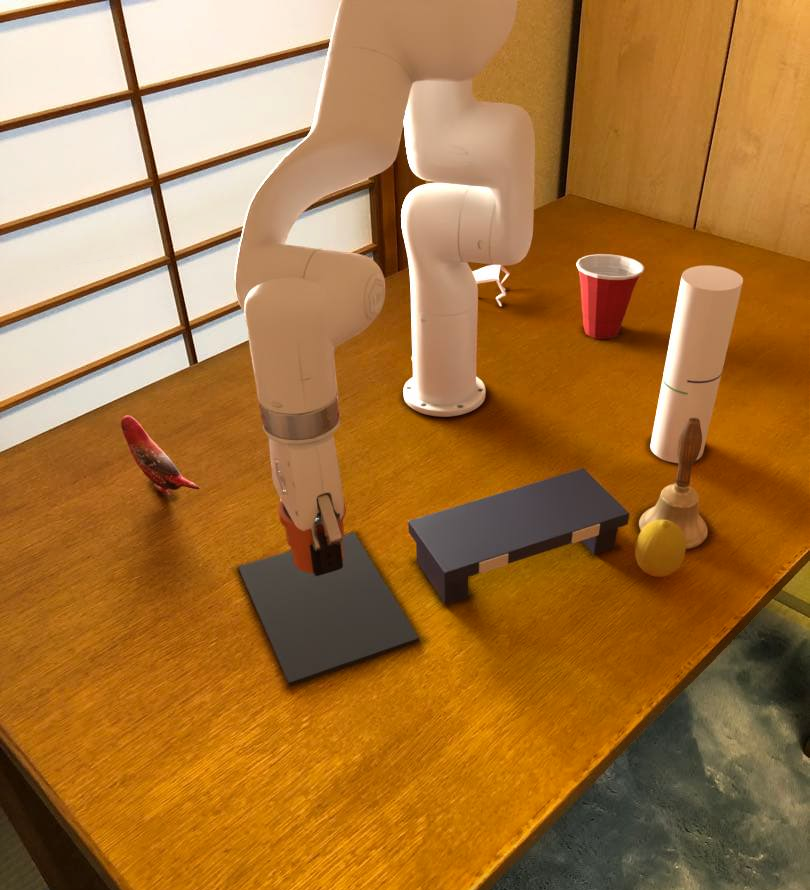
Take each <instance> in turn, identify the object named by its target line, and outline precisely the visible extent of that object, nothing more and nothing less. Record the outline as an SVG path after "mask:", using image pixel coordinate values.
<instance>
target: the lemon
mask: <svg viewBox="0 0 810 890" xmlns="http://www.w3.org/2000/svg"><path fill="white" fill-rule="evenodd" d="M686 550H687V549H686V542H685V537H684V533H683V532H682V530H681V528H680V527H679V526H678V525H676V524H675V523H673V522H671V521H669V520H655V521H652V522H650V523H648V524H647V525H646V526H645V527H644V528H643V529H642V531H640V532H639V534H638V537H637V539H636V540H635V547H634V556H635V560H636V563H637V565H638V566H639V568H640V570H642V571H643V572H644V573H645V574H647V575H649V576H652V577H656V578H657V577H659V578H661V577H662V578H663V577H667V576H669V575H671V574H673V573H675V572H676V571H677V570H678V569H679V568H680V566H681V565H682V564H683V561H684V559H685V555H686Z"/></svg>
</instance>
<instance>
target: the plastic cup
mask: <svg viewBox="0 0 810 890" xmlns="http://www.w3.org/2000/svg"><path fill="white" fill-rule="evenodd" d="M575 264H576V267H577V269H578V275H579V283H580V299H581V312H582V322H583V328H584V330H583V331H584V332H585V334H586V335H587V336H589V337H591V338H593V339H597V340H598V339H599V340H609V339H612V338H615V337H616V336H618V334H619V332H620V330H621V327H622V324H623V321H624V318H625V316H626V313H627V310H628V307H629V304H630V301H631V297H632V295H633V292H634V289H635V287H636V284H637V282H638V280H639V278H640V276H641V275H642V274H643V272H644V270H645V266H644V265H643V263H642V262H640V261H638V260H636V259H634V258H631V257H628V256H624V255H617V254H609V253H608V254H607V253H598V254H597V253H596V254H590V255H584V256H582V257H581V258H578V260H577V261H576V263H575Z"/></svg>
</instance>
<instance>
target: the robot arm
mask: <svg viewBox="0 0 810 890" xmlns="http://www.w3.org/2000/svg"><path fill="white" fill-rule="evenodd" d="M517 10H518V0H340V1H339V4H338V7H337V11H336V14H335V19H334V23H333V28H332V32H331V37H330V42H329V46H328V51H327V56H326V60H325V65H324V69H323V74H322V79H321V83H320V87H319V93H318V98H317V102H316V106H315V112H314V117H313V122H312V126H311V129H310V131H309V132H308V134H307V136H306V137H305V138H303V139H302V140H301V141H300V142H299V143H298V144H297V145H296V146H295V147H293V148H292V149H291V150H289V152H287V153H286V154H285V155H284V156H283V157H282V158H281V160H279V162H278V163H277V164H276V165H275V166H274V167H273V169H272V170H271V171H270V172H269V174H268V175H267V176H266V177H265V179H263V181H262V183H260V185H259V187H258V188H257V190H256V191H255V193H254V194H253V197H252V199H251V201H250V203H249V205H248V207H247V208H248V209H247V211H246V214H245V217H244V222H243V226H242V227H243V228H242V232H241V236H240V241H239V245H238V251H237V256H236V261H235V270H234V291H235V292H234V293H235V295H236V299H237V300H236V301H237V303H238V305H239V308H241V310H242V311H243V312H244V318H245V319H244V320H245V324H246V332H247V337H248V338H247V339H248V343H249V349H250V350H249V351H250V356H251V363H252V369H253V375H254V382H255V388H256V395H257V400H258V406H259V414H260V419H261V426H262V430H263V431H262V432H263V433H264V434H265V435H266V437H267V438H268V447H269V458H270V465H271V475H272V482H273V485H274V488H275V490H276V493H277V494H278V497H279V499H280V501H281V500H282V502H283V504H284V506H285V508H286V510H287V511H288V513H289V515H290V517H291V519H292V520H293V522H294V524H295V525H296V527H297V528H299V529H300V530H302V531H306V530H308V529H310V535H311V539H312V545H310V552H311V560H312V568H313V573H314V574H315V576H320V575H323V574H326V573H329V572H333V571H336V570H339V569H341V568H342V567H343V561H342V551H341V541H342V536H341V532H340V529H339V526H338V523H337V520H339V521H340V520H341V519H342V517H343V513H344V507H343V498H344V494H343V487H342V480H341V479H342V478H341V472H340V465H339V459H338V451H337V447H336V441H335V435H334V433H335V432H336V431H337V430H338V428H339V427H340V424H341V416H340V404H339V403H340V402H339V393H338V392H339V391H338V382H337V371H336V370H337V369H336V358H335V349H336V348H338V346H340V345H341V344H344V343H345V342H347V341H349V340H350V339H352V338H355V337H356V336H357V335H359V334H361V333H362V332H364V331H365V330H366V329H367V328H368V327H369V326H370V325H371V324H372V323H373V322H374V321H375V320H376V318H377V317H378V316H379V314H380V313H381V312H382V310H383V306H384V303H385V297H386V281H385V280H386V279H385V276H384V273H383V270H382V268H380V266H379V265H378V263H377V262H376V261H375V260H373V259H372V258H370V257H369V256H366V255H364V254H360V253H356V252H351V251H350V252H349V251H340V250H332V249H324V248H319V247H311V246H302V245H301V246H300V245H291V244H286V242H287V239H288V236H289V233H290V231H291V230H292V227H293V225H294V224H295V223H296V221H297V220H298V218H299V217H300V216H301V215H302V214H303V213H304V212H305V211H306V210H307V209H308V208H309V207H310V206H312V205H313V204H315V203H316V202H317V201H319V200H321V199H322V198H324V197H326V196H329V195H331V194H333V193H336V192H338V191H340V190H343V189H345V188H347V187H350V186H352V185H354V184H357V183H359V182H362V181H364V180H367V179H370V178H372V177H374V176H376V175H379V174H381V173H383V172H384V171H386V170H387V169H388V168H390V167H392V165H393V164H394V162H395V161H396V159H397V156H398V154H399V149H400V142H401V138H402V133H403V131H404V141H405V148H406V150H405V151H406V155H407V161H408V164H409V168H410V170H411V172H412V173H413V174H414V175H415V177H417V178H419V179H421V180H424V181H426V182H427V181H428V182H432V183H425V184H421V185H419V186H416V187H415V188H413V189H412V190H411V191H409V193H408V194H407V195H406V197H405V199H404V201H403V204H402V208H401V214H400V217H401V221H400V222H401V230H402V237H403V240H404V245H405V250H406V256H407V262H408V269H409V282H410V283H409V284H410V315H411V316H410V317H411V349H412V350H411V351H412V355H411V361H412V377H410V378H409V379H408V380H407V381H406V382H405V384H404V386H403V391H402V392H403V399H404V402H405V404H406V405H407V406H408V407H409V408H411V409H413V410H414V411H416V412H418V413H420V414H423V415H426V416H431V417H432V416H433V417H441V418H443V417H445V418H446V417H457V416H461V415H465V414H468V413H470V412H472V411H475V410H476V409H477V408H479V407H480V406H481V405H482V404H483V403H484V402H485V399H486V393H487V389H486V385H485V383H484V381H482V379H480V378H479V377H478V376H477V350H478V349H477V348H478V346H477V345H478V313H479V312H478V308H479V287H478V284H477V282H476V279H475V276H474V274H473V272H472V271H473V270H472V268H471V266H470V265H469V263H473V264H474V263H475V264H483V265H503V266H513V265H517V264H519V263H521V262H522V261H523V260H524V259H525V258H526V256H527V255H528V253H529V251H530V248H531V244H532V239H533V233H534V217H535V214H534V213H535V177H536V176H535V175H536V174H535V170H536V135H535V129H534V124H533V121H532V118H531V116H530V114H529V113H528V111H527V110H526V109H524V108H523V107H522V106H520V105H517V104H513V103H510V102H509V103H508V102H498V101H481V100H478V99H477V98H476V97H475V96H474V92H473V79H474V78H476V77H477V76H478V75H479V74H480V73H481V72H482V71H483V70H484V69H485V68H486V66H487V65H488V64H489V63H490V62H491V60H492V59H493V58H494V57H495V56H496V55H497V54H498V53H499V51H500V50H501V49H502V48H503V46H504V45H505V43H506V42H507V41H508V38H509V36H510V34H511V33H512V29H513V26H514V23H515V19H516V15H517ZM403 128H404V130H403ZM318 513H319V514H320V517H318V518H316V517H317V514H318ZM336 519H337V520H336ZM321 525H323V526H324V530H325V534H324V535H322V536H320V537H319V538H318V533H317V529H316V527H318V526H321Z"/></svg>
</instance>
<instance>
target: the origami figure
mask: <svg viewBox="0 0 810 890" xmlns="http://www.w3.org/2000/svg"><path fill="white" fill-rule="evenodd" d="M472 272H473V274H474V276H475V279H476V282H477V285H478V284H485V283H491V282H496V284H497V286H498V288H499V290H500V292H501V293H500V294H499V295H498V296H496V297H495V300H496V302H497V304H498V306H499V307H502V306H503V304H502V302H501V300H500V299H502V298H504V297H506V296H507V292H506V291H507V289H506V288H505V287H504V286H503V283H504V282H505V281H506V279H508V277H509V276H510V275H511V273H510V271H508V270H507V269H506V268H505V266H504V265H492V264H490V265H487V266H484V267H481V268H478V269H475V270H472ZM501 272H503V273H505V276H504V277H503V278H502V280H501V282H500V278H499V277H500V273H501Z"/></svg>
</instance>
